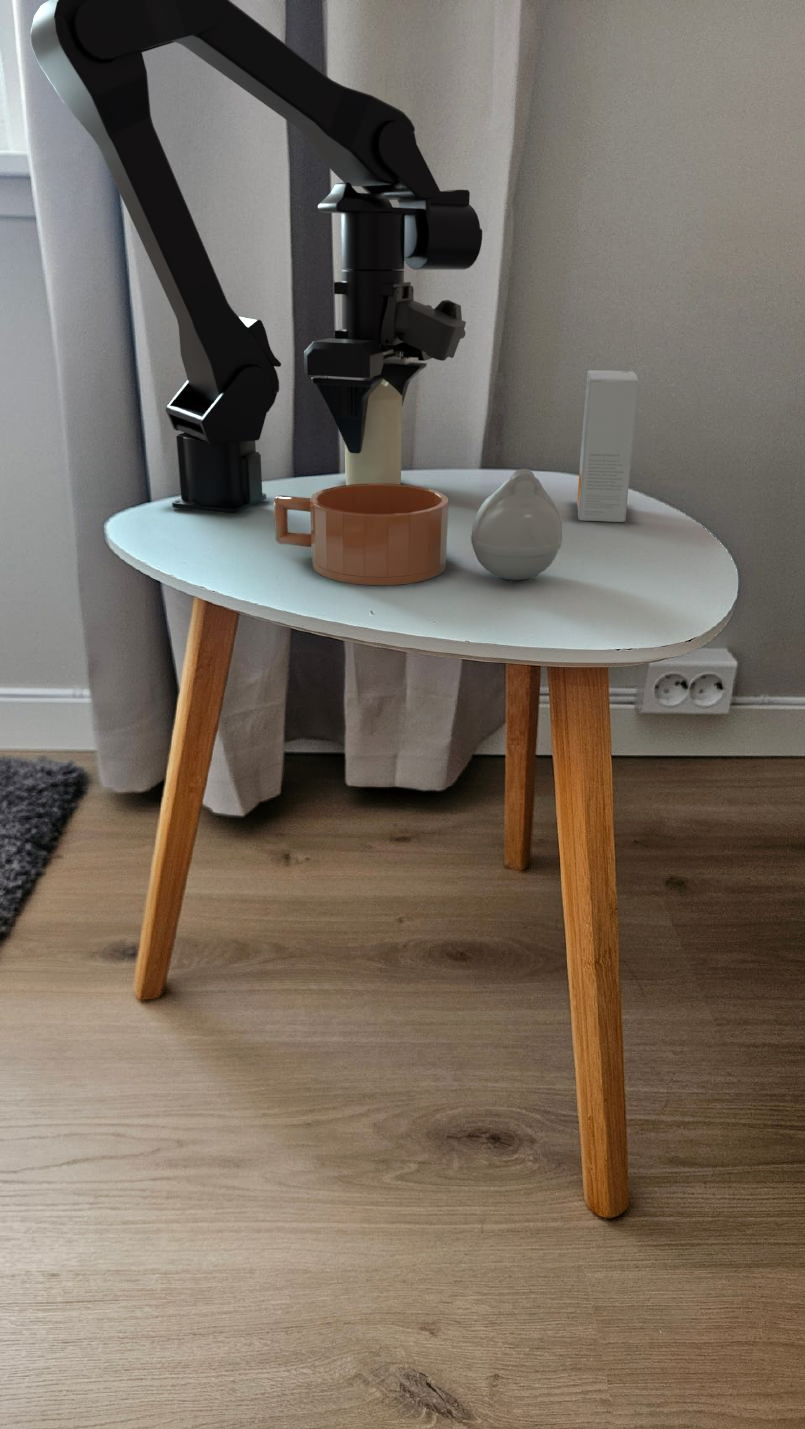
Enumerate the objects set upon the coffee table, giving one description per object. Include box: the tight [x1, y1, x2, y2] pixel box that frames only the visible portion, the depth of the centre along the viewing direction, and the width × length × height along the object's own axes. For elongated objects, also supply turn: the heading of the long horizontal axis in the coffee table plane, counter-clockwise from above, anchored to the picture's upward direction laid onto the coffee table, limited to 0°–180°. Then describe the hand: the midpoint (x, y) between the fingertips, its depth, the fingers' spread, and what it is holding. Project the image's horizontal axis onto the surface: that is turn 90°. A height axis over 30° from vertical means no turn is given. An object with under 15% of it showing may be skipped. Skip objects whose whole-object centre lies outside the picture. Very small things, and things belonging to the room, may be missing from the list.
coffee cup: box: [273, 483, 449, 586], centre depth 74 cm, size 14×10×5 cm
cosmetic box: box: [576, 369, 640, 523], centre depth 87 cm, size 6×4×12 cm
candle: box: [344, 379, 403, 485], centre depth 97 cm, size 6×6×10 cm
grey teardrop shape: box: [470, 468, 563, 581], centre depth 71 cm, size 7×7×8 cm
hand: (372, 444), depth 97 cm, fingers open, 9 cm apart
